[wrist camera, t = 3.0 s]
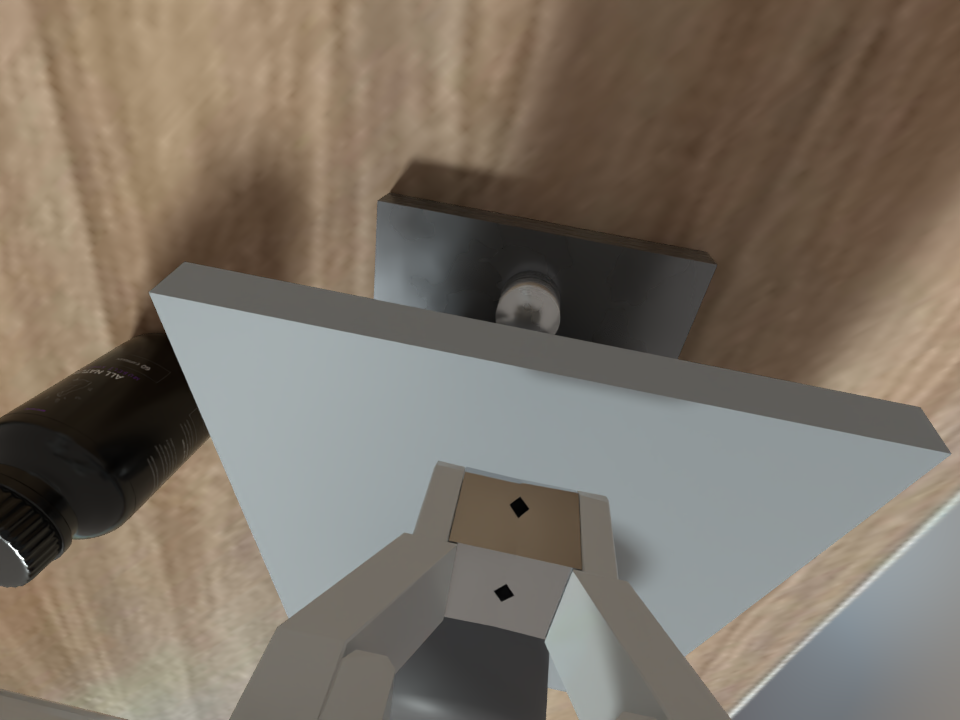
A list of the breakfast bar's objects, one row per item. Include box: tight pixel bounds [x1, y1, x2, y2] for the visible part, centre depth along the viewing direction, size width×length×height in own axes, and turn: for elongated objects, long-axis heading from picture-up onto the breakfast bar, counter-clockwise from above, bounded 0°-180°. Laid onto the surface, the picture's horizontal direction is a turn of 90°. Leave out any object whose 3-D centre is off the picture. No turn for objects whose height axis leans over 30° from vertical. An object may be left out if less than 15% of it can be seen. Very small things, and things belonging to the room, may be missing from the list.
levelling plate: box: [149, 262, 951, 720], centre depth 16 cm, size 20×16×6 cm
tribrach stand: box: [374, 193, 717, 359], centre depth 22 cm, size 18×14×9 cm
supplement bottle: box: [0, 333, 210, 588], centre depth 24 cm, size 7×7×12 cm
